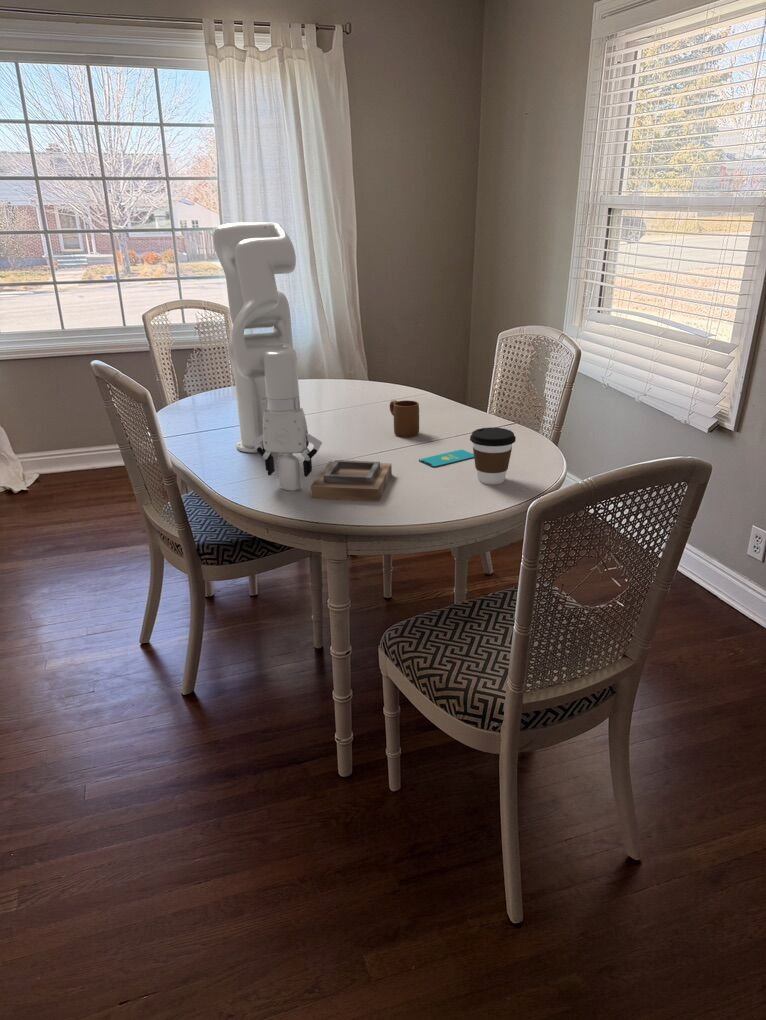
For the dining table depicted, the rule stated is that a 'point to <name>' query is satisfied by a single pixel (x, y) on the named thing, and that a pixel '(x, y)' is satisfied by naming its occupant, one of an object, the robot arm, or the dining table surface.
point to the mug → (405, 418)
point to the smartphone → (447, 458)
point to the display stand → (352, 480)
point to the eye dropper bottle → (289, 472)
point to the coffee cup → (492, 453)
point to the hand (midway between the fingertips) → (289, 473)
